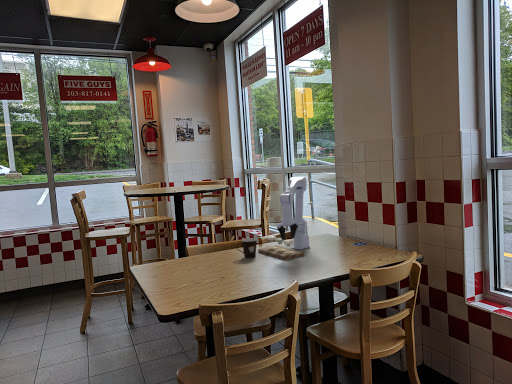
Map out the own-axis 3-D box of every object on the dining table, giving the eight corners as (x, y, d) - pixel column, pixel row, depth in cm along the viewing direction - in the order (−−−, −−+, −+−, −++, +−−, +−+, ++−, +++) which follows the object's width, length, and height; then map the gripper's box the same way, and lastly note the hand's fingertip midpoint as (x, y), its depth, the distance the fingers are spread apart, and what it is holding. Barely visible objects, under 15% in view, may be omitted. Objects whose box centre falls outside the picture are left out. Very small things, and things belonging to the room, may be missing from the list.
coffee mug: (258, 254, 225) (257, 238, 224) (256, 258, 216) (255, 241, 215) (238, 255, 226) (237, 238, 225) (236, 259, 217) (235, 241, 216)
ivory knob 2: (289, 244, 220) (289, 239, 220) (294, 246, 216) (294, 240, 216) (282, 246, 218) (282, 240, 217) (287, 247, 214) (287, 242, 213)
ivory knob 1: (272, 240, 234) (272, 235, 234) (277, 241, 230) (277, 237, 229) (266, 242, 231) (266, 237, 231) (271, 243, 227) (270, 238, 227)
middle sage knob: (280, 242, 227) (280, 237, 227) (286, 243, 223) (285, 238, 223) (274, 243, 224) (273, 238, 224) (279, 245, 220) (279, 240, 220)
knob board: (276, 248, 239) (276, 245, 239) (304, 255, 217) (303, 251, 217) (258, 252, 231) (258, 248, 231) (284, 260, 209) (284, 256, 209)
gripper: (291, 212, 223) (292, 235, 224) (272, 215, 214) (273, 239, 216) (300, 213, 218) (301, 237, 219) (280, 216, 209) (282, 241, 210)
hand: (288, 238), depth 217 cm, fingers open, 7 cm apart
